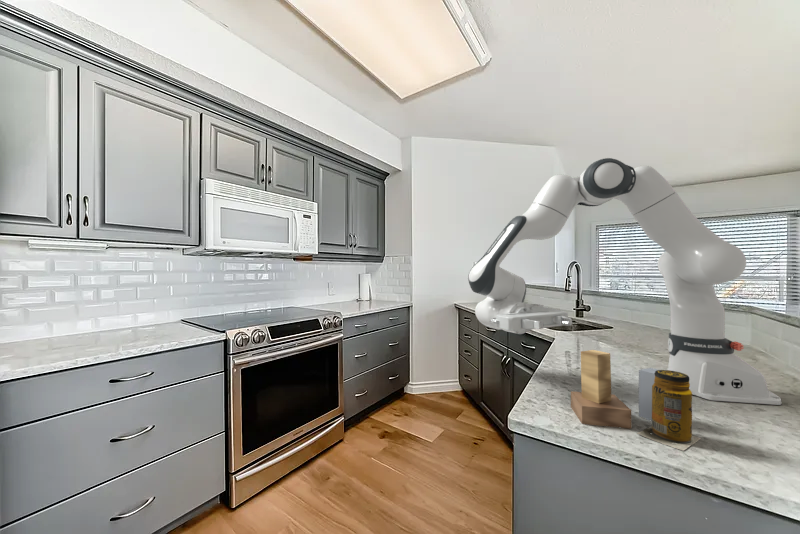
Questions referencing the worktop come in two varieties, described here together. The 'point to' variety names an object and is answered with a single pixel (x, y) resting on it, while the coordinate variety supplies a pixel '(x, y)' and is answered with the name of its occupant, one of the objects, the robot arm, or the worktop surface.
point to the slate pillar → (646, 392)
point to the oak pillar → (596, 376)
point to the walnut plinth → (601, 411)
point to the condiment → (671, 410)
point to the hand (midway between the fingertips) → (556, 323)
